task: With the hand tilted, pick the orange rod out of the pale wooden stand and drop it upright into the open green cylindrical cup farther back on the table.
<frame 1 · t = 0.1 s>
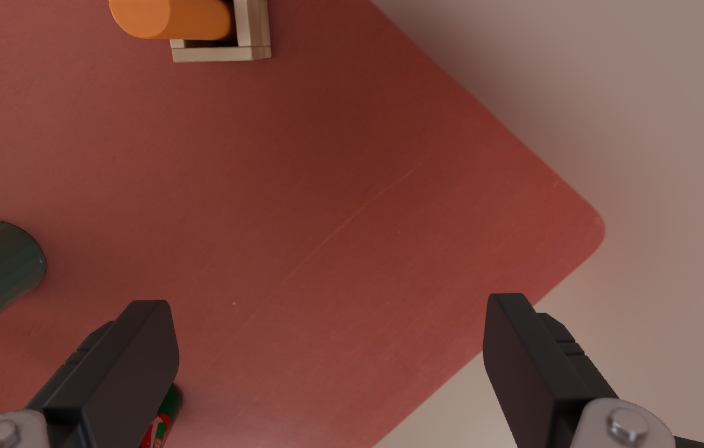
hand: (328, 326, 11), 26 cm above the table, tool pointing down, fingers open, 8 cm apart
soda can: (159, 394, 46), on the table
orange rod: (202, 16, 25), in the straw stand
green cylindrical cup: (5, 257, 39), on the table
straw stand: (235, 22, 32), on the table
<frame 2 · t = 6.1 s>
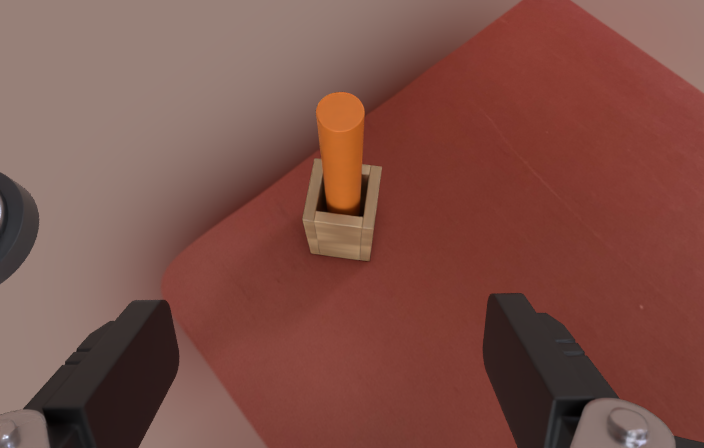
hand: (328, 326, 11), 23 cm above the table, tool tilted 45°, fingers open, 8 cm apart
orange rod: (342, 185, 29), in the straw stand
straw stand: (344, 230, 37), on the table
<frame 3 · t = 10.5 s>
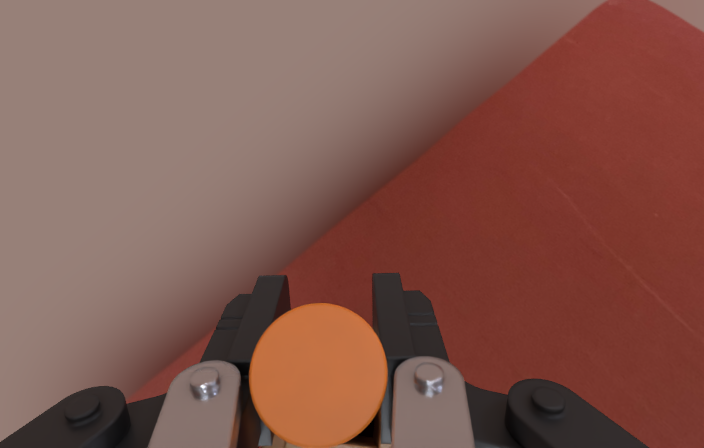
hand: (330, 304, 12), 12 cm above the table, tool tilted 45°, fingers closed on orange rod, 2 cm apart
orange rod: (337, 391, 15), in the straw stand, touching gripper
straw stand: (344, 398, 22), on the table
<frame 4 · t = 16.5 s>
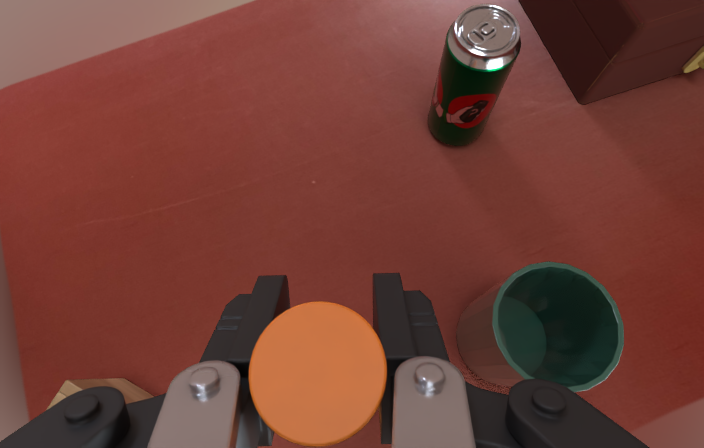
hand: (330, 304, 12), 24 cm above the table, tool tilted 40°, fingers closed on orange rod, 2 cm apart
soda can: (454, 125, 41), on the table
orange rod: (337, 390, 15), point 20 cm above the table, touching gripper
green cylindrical cup: (501, 338, 35), on the table
box: (642, 19, 44), on the table
straw stand: (130, 422, 34), on the table
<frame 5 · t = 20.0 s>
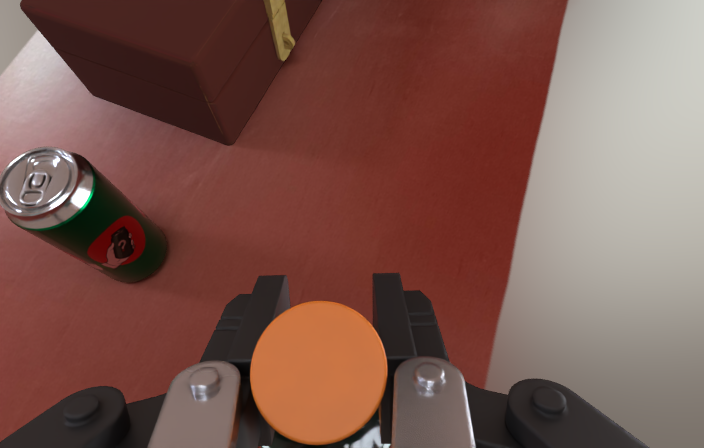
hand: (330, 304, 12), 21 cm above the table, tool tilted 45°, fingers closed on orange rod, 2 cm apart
soda can: (138, 254, 35), on the table
orange rod: (337, 390, 15), point 17 cm above the table, touching gripper
green cylindrical cup: (336, 402, 31), on the table
box: (222, 42, 44), on the table
when the fingers open (13 cm above the table, at t = 22.7 s): orange rod stays where it is, resting on green cylindrical cup.
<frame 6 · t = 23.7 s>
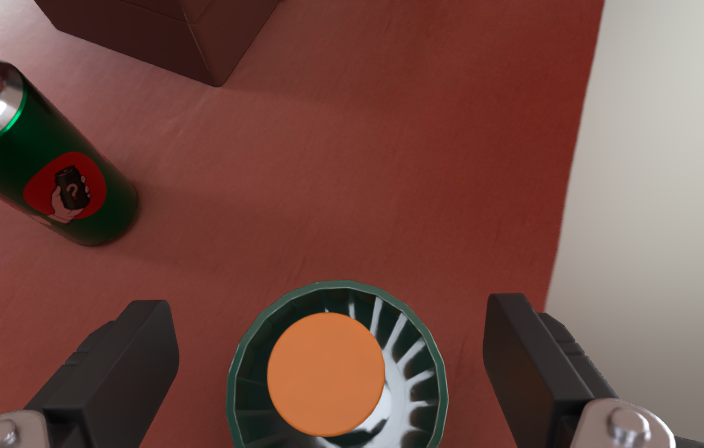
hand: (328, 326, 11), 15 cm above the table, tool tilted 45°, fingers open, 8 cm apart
soda can: (103, 212, 29), on the table
orange rod: (340, 388, 16), in the green cylindrical cup, point 9 cm above the table
green cylindrical cup: (345, 396, 24), on the table
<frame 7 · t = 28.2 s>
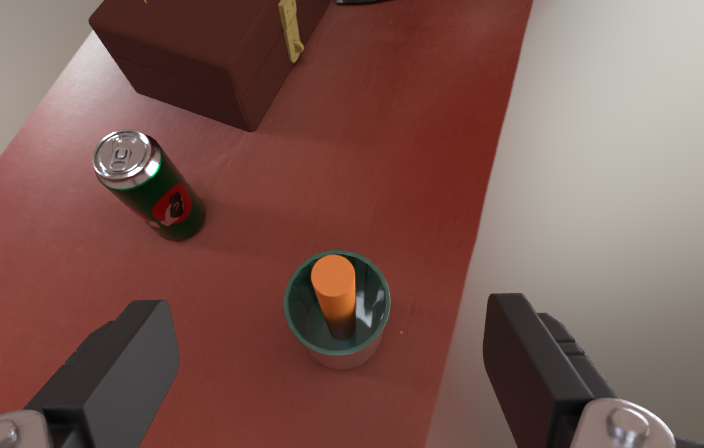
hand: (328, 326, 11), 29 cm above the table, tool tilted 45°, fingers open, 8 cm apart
soda can: (181, 219, 44), on the table
orange rod: (338, 306, 32), in the green cylindrical cup, point 9 cm above the table
green cylindrical cup: (342, 328, 39), on the table
box: (242, 47, 53), on the table
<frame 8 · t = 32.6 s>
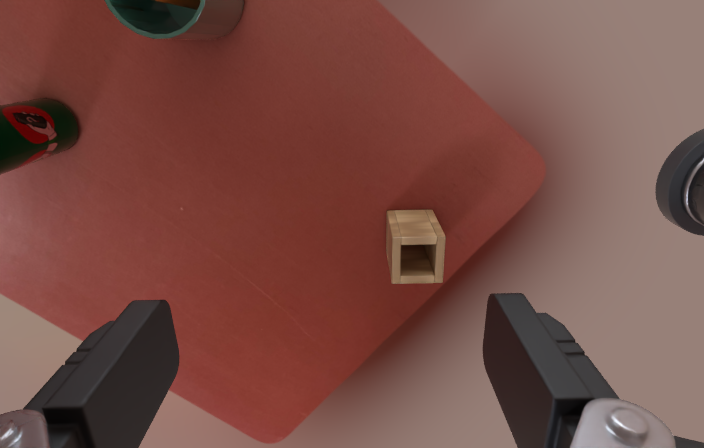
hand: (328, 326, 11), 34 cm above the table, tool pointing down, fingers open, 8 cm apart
soda can: (56, 124, 43), on the table
straw stand: (408, 230, 47), on the table
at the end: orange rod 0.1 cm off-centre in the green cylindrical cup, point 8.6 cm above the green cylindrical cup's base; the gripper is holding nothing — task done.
